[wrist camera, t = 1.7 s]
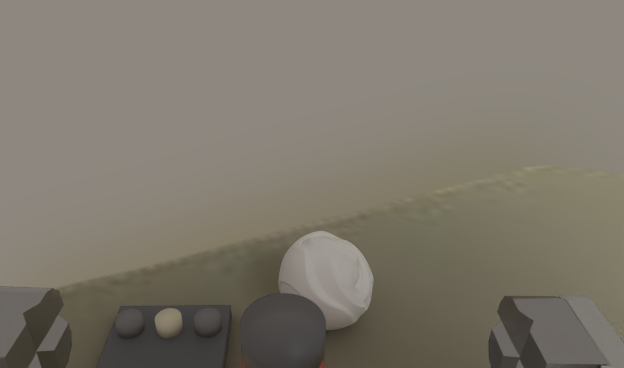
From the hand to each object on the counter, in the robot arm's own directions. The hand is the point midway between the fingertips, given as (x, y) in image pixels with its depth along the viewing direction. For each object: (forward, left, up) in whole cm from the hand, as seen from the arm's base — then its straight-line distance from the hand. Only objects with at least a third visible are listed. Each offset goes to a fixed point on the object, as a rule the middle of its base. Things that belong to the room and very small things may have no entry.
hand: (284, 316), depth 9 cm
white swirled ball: (+24, -3, -24) cm, 35 cm away
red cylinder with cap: (+12, 0, -24) cm, 27 cm away
